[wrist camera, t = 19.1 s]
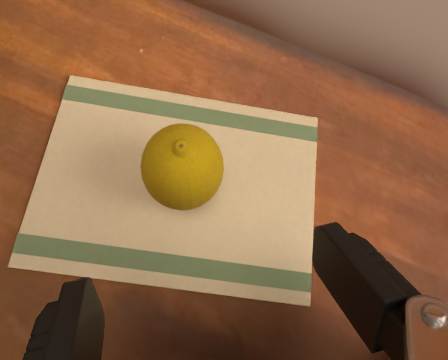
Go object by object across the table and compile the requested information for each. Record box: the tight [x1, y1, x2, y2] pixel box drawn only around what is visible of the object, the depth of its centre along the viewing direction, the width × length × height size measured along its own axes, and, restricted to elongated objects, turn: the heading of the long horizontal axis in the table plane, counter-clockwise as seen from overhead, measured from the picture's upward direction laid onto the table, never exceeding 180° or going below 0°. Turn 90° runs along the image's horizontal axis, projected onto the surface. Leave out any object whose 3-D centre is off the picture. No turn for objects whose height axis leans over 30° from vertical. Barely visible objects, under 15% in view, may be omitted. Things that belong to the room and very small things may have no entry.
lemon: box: [141, 123, 224, 210], centre depth 21 cm, size 6×6×8 cm
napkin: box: [8, 75, 318, 306], centre depth 25 cm, size 22×16×1 cm
